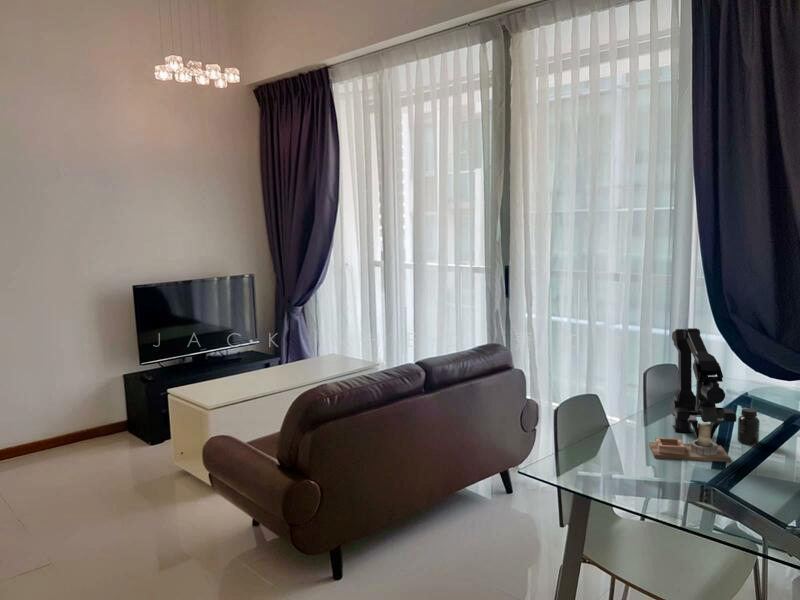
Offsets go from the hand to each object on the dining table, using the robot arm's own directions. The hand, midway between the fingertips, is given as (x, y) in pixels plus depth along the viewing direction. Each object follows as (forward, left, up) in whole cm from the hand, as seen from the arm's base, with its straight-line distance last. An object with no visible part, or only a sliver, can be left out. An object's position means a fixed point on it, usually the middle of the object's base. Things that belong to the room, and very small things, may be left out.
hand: (703, 438), depth 214 cm
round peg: (0, 0, -3) cm, 3 cm away
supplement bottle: (-14, +18, -6) cm, 24 cm away
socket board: (0, -5, -6) cm, 8 cm away
